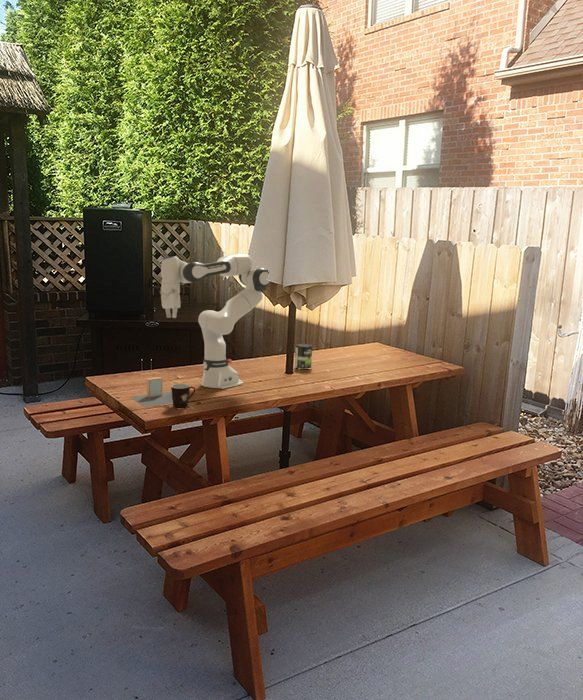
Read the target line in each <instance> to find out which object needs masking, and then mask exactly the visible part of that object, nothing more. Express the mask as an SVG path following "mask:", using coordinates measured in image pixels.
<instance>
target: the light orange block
mask: <svg viewBox="0 0 583 700" xmlns="http://www.w3.org/2000/svg"><path fill="white" fill-rule="evenodd" d="M162 393H163V377H162V376H155V377H148V378H146V395H147V397H148V398H151V397H158V396H162Z"/></svg>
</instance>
